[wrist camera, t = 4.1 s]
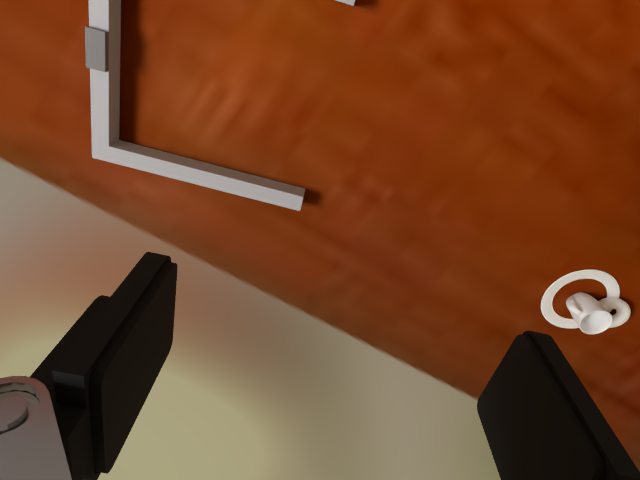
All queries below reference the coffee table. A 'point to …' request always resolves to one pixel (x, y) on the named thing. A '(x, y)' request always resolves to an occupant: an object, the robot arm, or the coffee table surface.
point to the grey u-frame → (108, 147)
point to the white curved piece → (587, 304)
